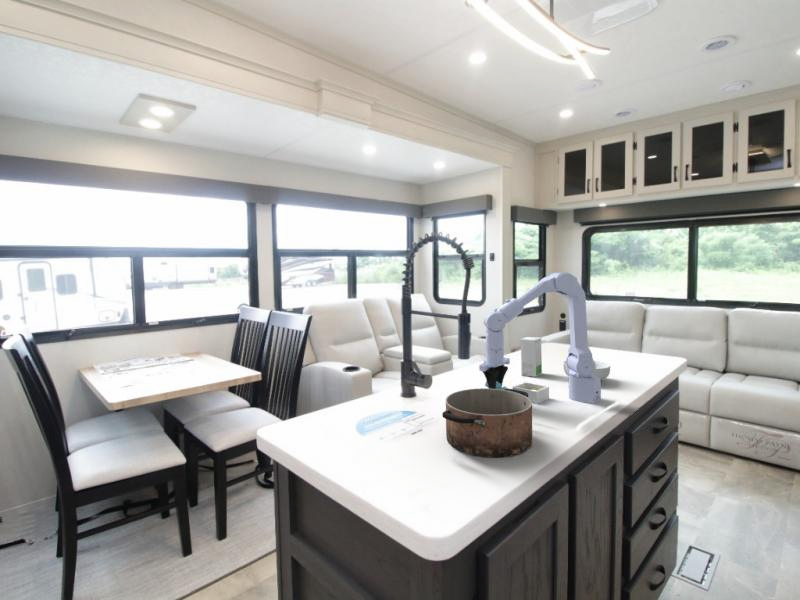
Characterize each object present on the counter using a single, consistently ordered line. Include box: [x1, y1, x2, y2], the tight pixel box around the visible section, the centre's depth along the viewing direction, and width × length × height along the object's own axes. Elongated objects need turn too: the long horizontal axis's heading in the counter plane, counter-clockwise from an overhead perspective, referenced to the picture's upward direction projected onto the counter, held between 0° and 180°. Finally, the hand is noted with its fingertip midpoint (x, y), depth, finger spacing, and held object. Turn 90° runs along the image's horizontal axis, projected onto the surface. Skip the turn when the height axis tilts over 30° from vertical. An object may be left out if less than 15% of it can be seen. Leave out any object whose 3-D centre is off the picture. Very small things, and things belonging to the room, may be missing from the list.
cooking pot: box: [441, 387, 533, 459], centre depth 109 cm, size 30×22×11 cm
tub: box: [512, 381, 550, 405], centre depth 140 cm, size 9×8×4 cm
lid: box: [484, 380, 509, 390], centre depth 136 cm, size 14×9×2 cm, turn 42°
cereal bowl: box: [563, 360, 611, 381], centre depth 161 cm, size 17×17×7 cm
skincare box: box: [520, 336, 543, 378], centre depth 173 cm, size 8×7×16 cm
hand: (495, 388), depth 138 cm, fingers closed on lid, 3 cm apart
